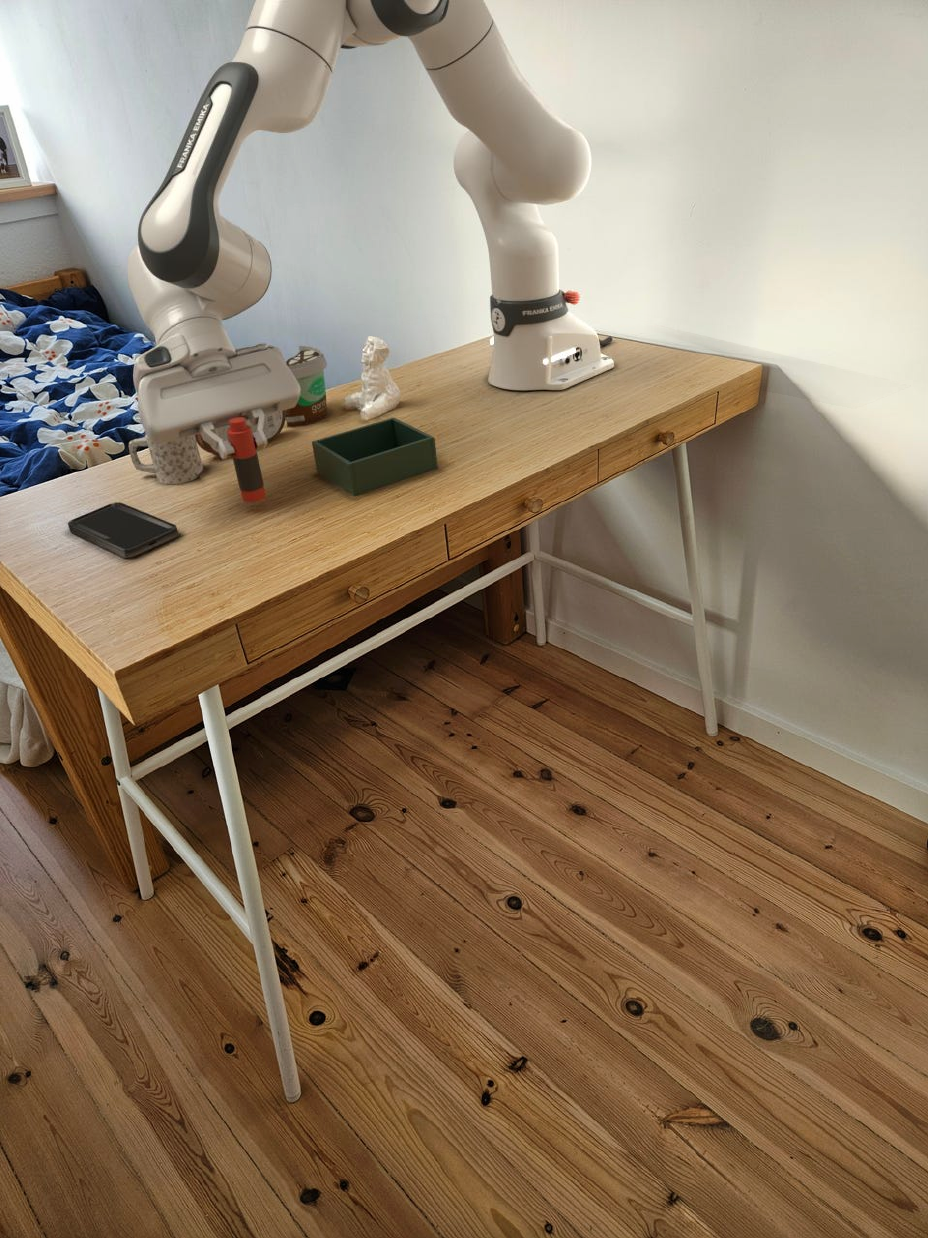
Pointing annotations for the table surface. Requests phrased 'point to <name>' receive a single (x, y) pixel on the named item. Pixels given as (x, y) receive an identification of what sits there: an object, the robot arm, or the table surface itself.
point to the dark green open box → (375, 455)
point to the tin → (270, 428)
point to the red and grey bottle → (246, 460)
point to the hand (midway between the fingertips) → (245, 451)
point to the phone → (123, 529)
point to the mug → (170, 459)
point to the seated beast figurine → (374, 383)
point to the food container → (308, 387)
